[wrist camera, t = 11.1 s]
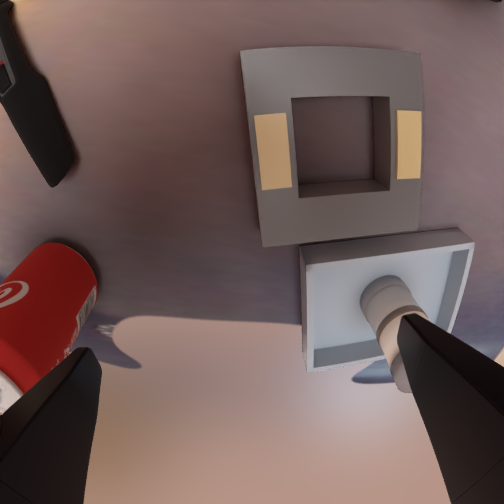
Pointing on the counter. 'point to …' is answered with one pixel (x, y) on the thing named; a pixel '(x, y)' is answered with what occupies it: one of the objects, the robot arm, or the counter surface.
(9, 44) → the electric trimmer
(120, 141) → the counter surface
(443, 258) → the parts tray
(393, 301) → the cylinder
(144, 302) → the counter surface
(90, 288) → the beverage can
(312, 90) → the fuse block
